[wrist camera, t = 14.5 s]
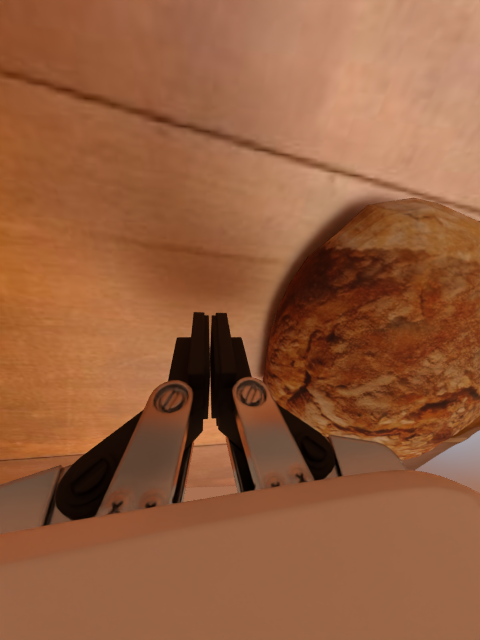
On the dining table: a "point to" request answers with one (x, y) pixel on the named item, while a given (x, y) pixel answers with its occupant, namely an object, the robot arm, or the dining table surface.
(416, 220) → the bread
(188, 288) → the dining table surface
